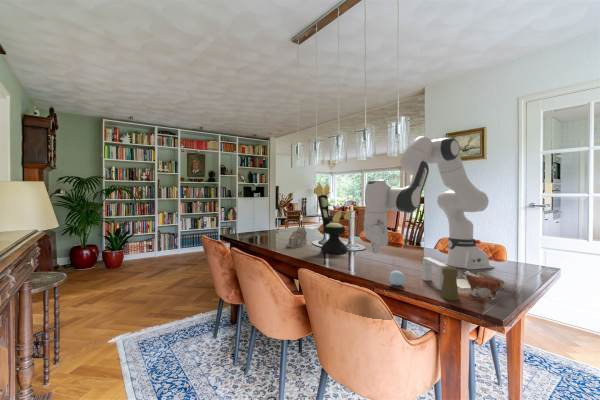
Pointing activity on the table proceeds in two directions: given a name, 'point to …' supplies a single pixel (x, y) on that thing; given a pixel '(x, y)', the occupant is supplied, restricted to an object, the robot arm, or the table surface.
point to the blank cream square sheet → (463, 284)
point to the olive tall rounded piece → (449, 284)
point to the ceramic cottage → (298, 238)
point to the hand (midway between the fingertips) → (375, 252)
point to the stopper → (491, 278)
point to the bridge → (428, 270)
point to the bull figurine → (482, 284)
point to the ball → (396, 278)
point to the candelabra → (331, 228)
